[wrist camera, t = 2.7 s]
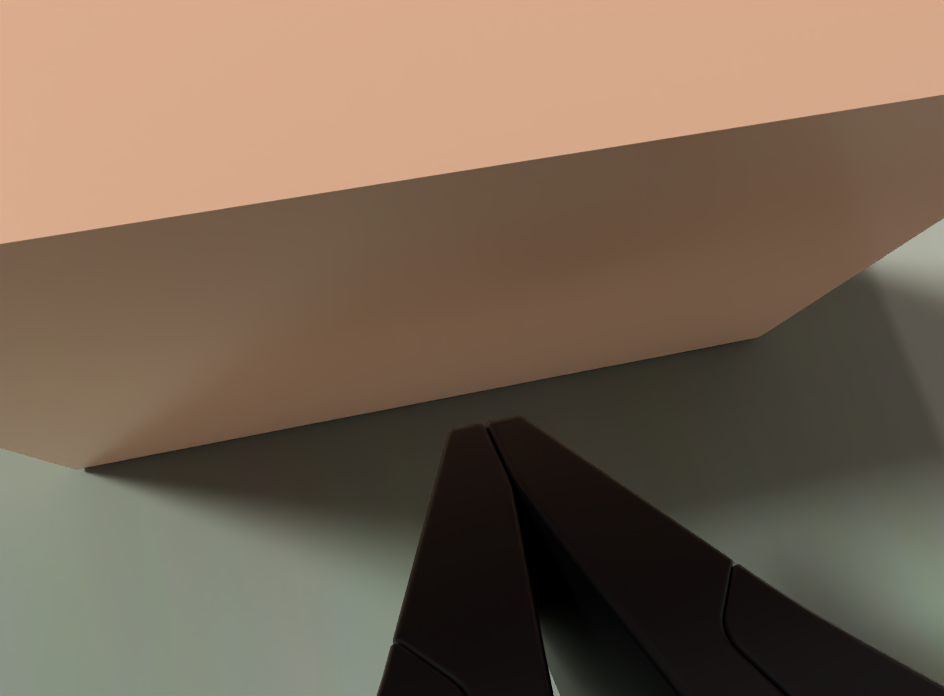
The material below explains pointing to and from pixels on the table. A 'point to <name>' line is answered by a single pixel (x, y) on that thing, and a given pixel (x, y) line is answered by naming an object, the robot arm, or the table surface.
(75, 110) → the terracotta tile
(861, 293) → the table surface
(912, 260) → the table surface
